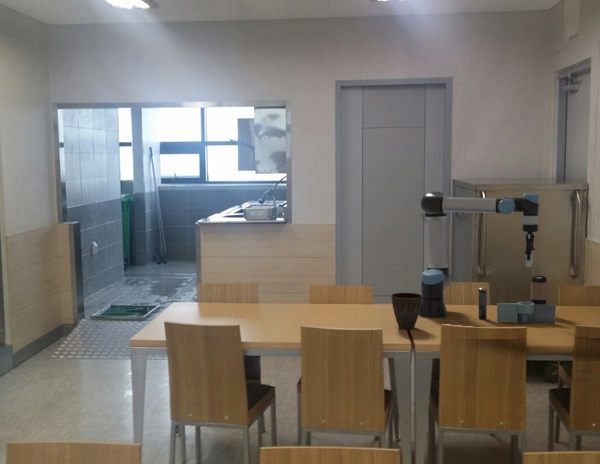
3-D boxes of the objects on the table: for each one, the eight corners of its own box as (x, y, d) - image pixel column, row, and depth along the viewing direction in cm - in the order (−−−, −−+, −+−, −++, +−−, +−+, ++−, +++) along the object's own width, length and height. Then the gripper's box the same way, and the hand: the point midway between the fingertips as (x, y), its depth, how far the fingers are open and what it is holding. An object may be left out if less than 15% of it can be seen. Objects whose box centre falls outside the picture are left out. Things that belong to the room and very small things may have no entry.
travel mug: (547, 316, 350) (547, 278, 348) (531, 316, 352) (532, 278, 350) (544, 313, 358) (545, 276, 356) (529, 312, 359) (530, 275, 357)
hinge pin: (476, 319, 346) (476, 288, 345) (478, 317, 351) (478, 287, 349) (487, 320, 344) (487, 289, 343) (488, 318, 349) (488, 287, 347)
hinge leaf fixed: (516, 322, 337) (516, 304, 336) (517, 319, 345) (518, 301, 344) (554, 325, 330) (555, 307, 329) (555, 322, 338) (555, 303, 337)
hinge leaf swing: (531, 319, 343) (531, 301, 342) (535, 323, 335) (536, 305, 334) (495, 319, 344) (495, 302, 343) (499, 323, 336) (499, 305, 335)
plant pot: (418, 323, 339) (418, 292, 337) (424, 330, 324) (425, 298, 323) (389, 324, 339) (389, 292, 337) (393, 331, 324) (393, 298, 322)
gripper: (536, 226, 334) (535, 268, 336) (539, 222, 357) (538, 261, 359) (520, 225, 337) (519, 267, 339) (524, 221, 360) (523, 261, 362)
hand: (529, 264), depth 349 cm, fingers open, 13 cm apart
